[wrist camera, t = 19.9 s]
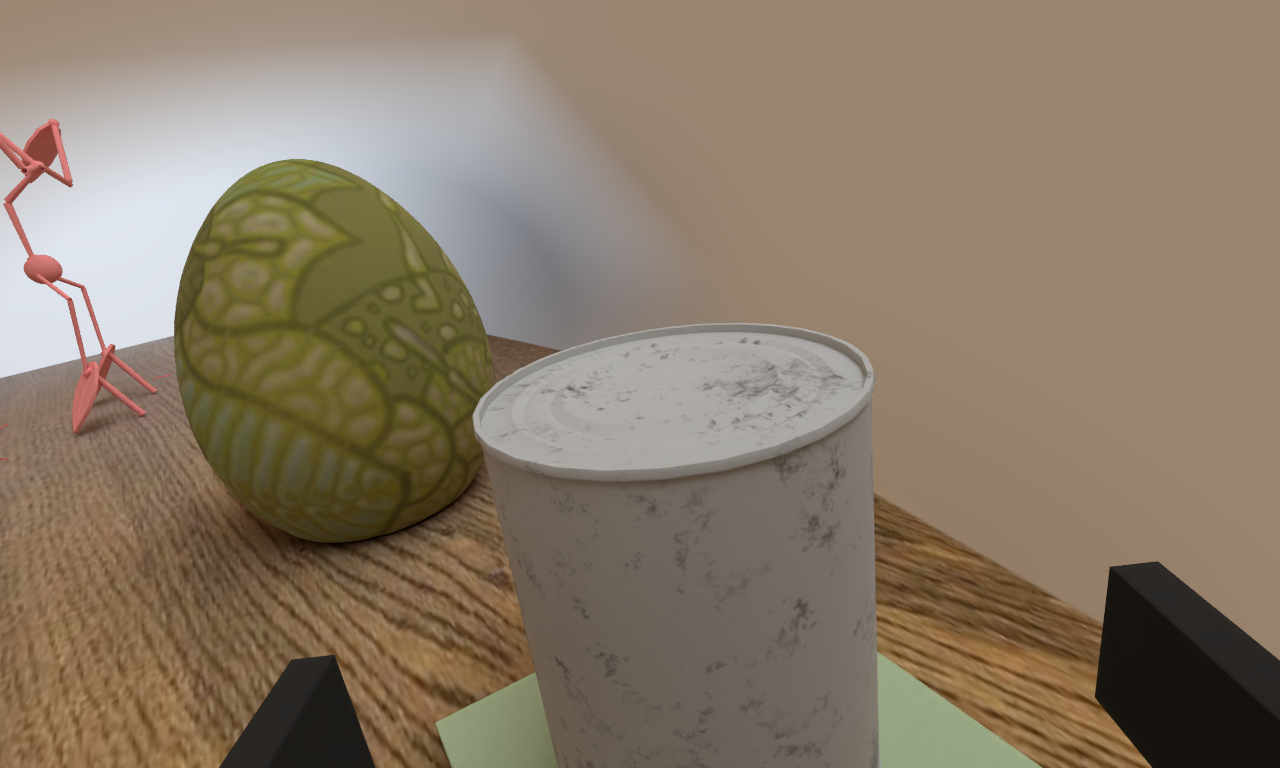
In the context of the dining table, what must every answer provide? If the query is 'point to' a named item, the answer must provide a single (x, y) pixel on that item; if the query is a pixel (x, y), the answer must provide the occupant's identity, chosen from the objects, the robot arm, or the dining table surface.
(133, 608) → the dining table surface
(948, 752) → the mat
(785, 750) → the grey speckled cylinder
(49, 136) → the figurine
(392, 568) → the dining table surface
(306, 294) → the decorative sculpture
